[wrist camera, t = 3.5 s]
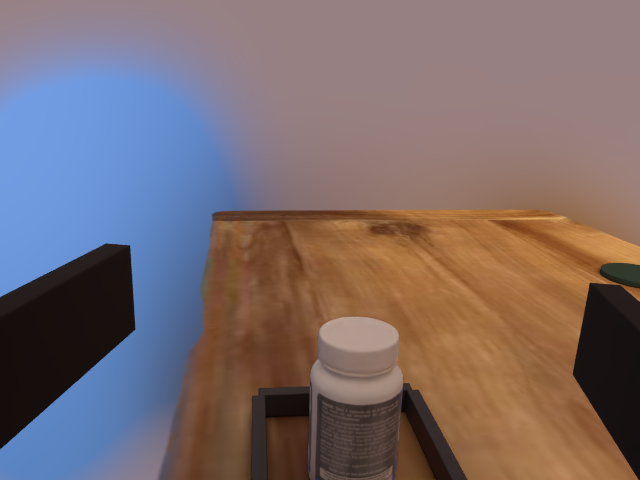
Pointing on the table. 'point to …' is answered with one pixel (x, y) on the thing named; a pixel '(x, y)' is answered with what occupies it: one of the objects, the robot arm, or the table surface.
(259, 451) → the dark brown rectangular frame
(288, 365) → the table surface
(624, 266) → the mat
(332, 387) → the pill bottle
